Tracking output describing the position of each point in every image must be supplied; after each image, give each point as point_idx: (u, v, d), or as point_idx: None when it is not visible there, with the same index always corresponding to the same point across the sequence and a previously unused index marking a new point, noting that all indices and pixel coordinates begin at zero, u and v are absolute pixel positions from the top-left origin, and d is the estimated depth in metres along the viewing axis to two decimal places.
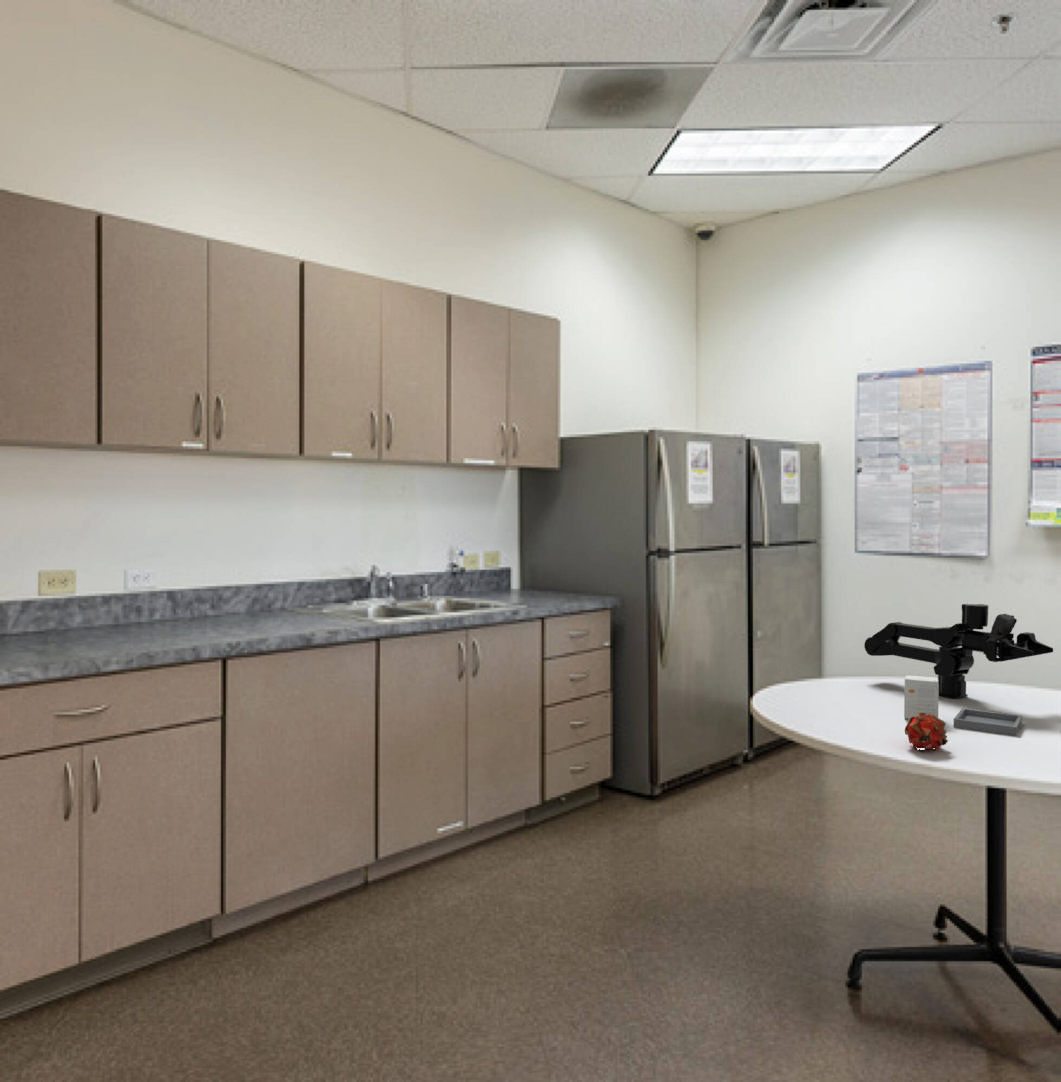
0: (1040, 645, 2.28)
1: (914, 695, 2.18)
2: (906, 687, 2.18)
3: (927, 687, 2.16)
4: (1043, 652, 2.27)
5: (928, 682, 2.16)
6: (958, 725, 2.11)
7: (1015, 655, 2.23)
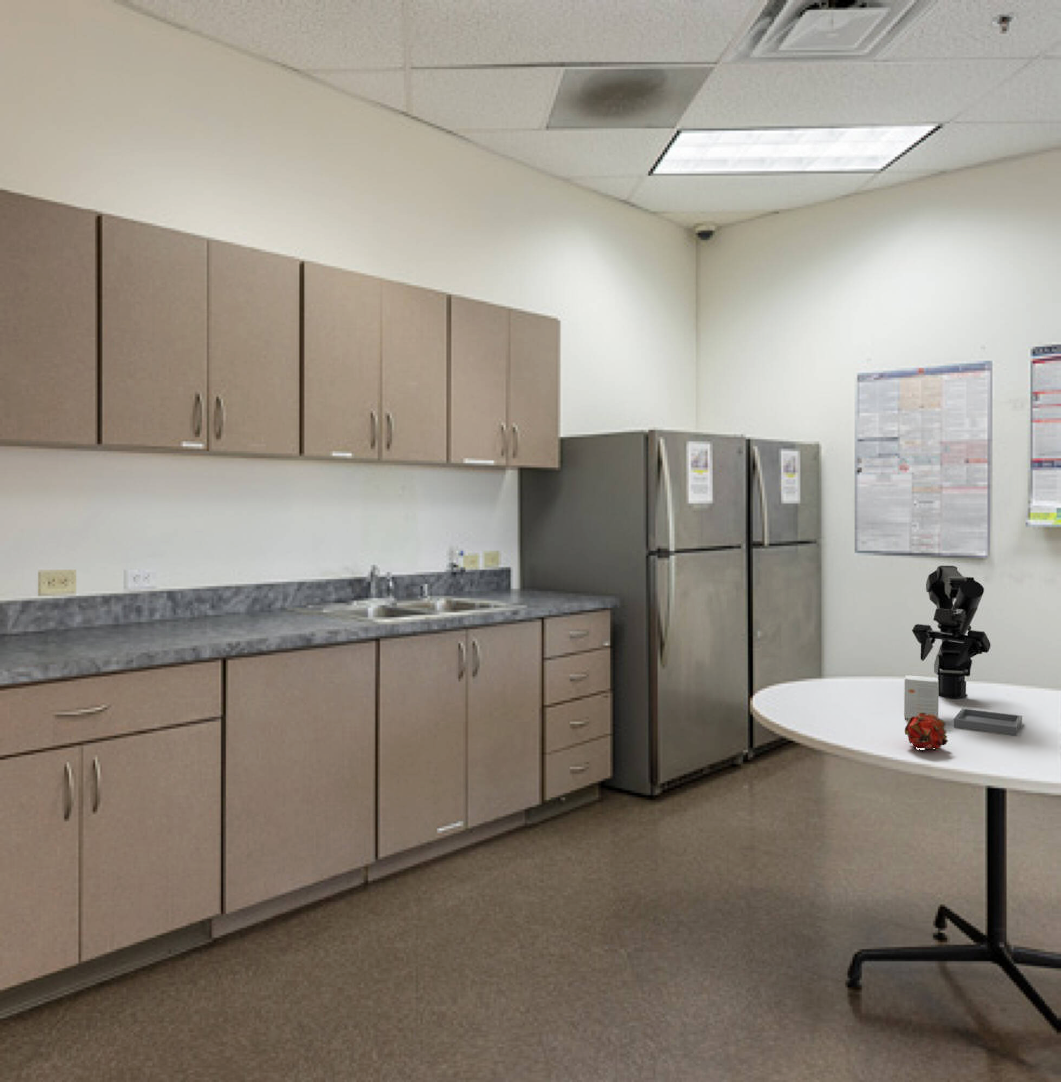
0: None
1: (914, 695, 2.18)
2: (906, 687, 2.18)
3: (927, 687, 2.16)
4: None
5: (928, 682, 2.16)
6: (958, 725, 2.11)
7: None
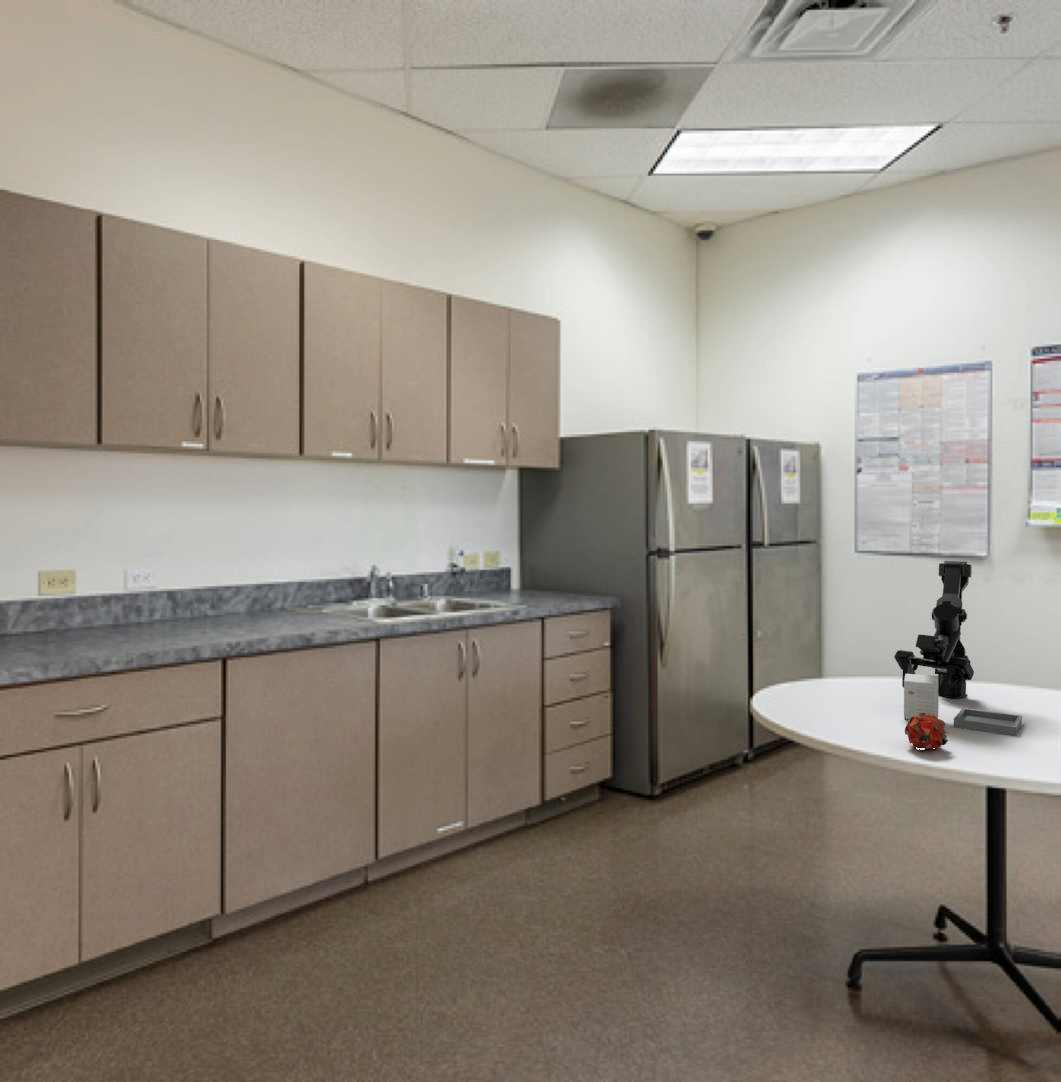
0: None
1: (913, 697, 2.17)
2: (905, 689, 2.17)
3: (927, 689, 2.15)
4: None
5: (928, 684, 2.14)
6: (958, 725, 2.11)
7: None
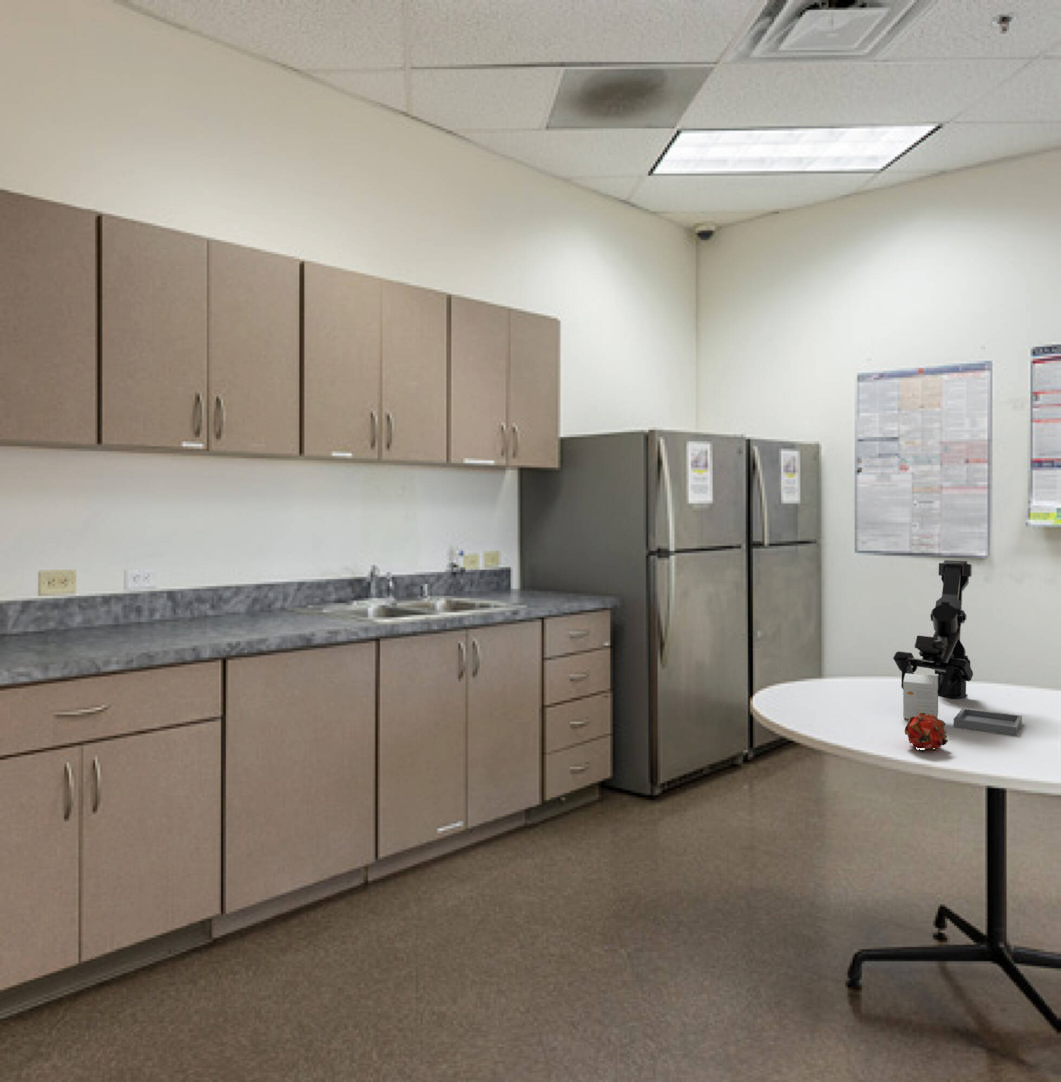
0: None
1: (912, 697, 2.16)
2: (905, 689, 2.17)
3: (926, 690, 2.14)
4: None
5: (927, 685, 2.14)
6: (958, 725, 2.11)
7: None
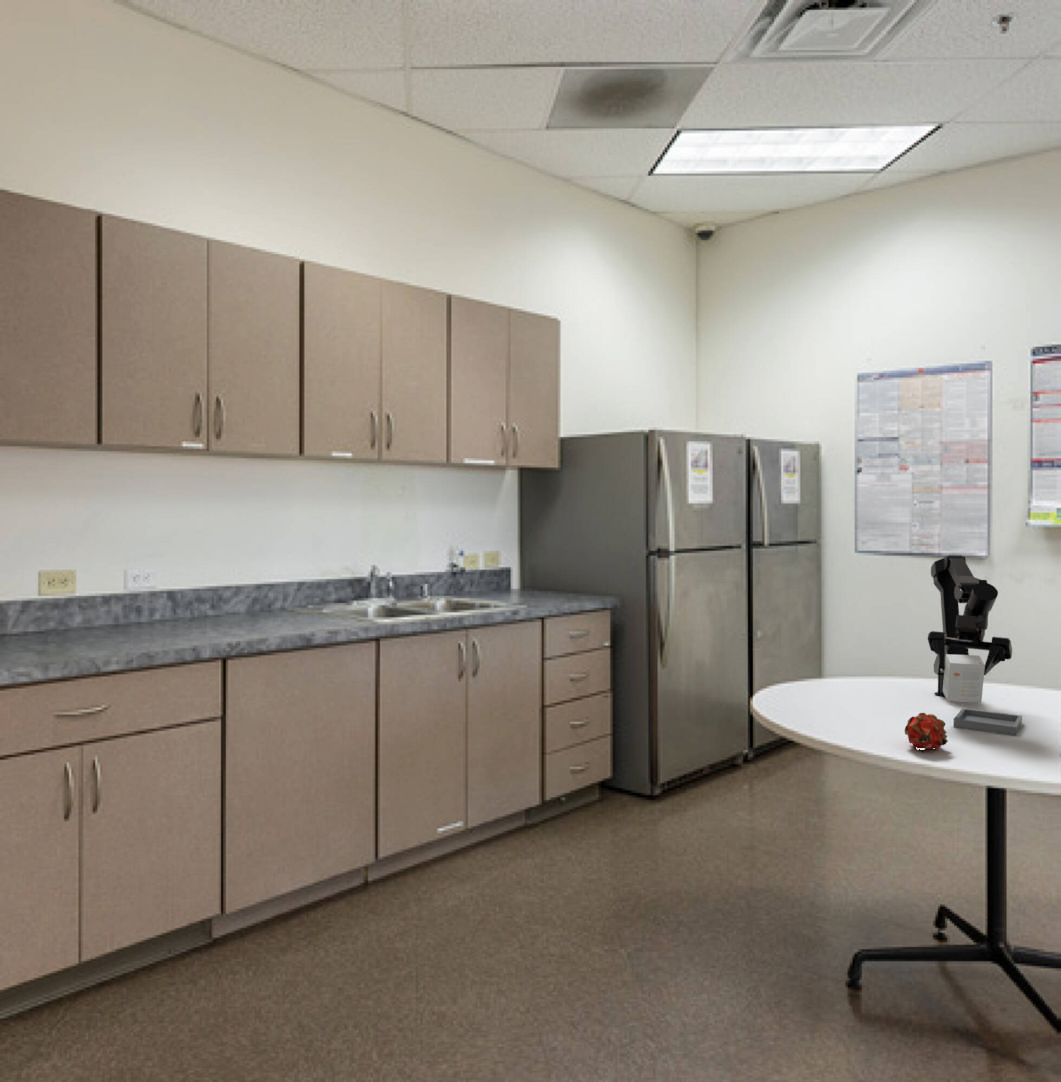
0: None
1: (958, 678, 2.11)
2: (951, 671, 2.11)
3: (973, 670, 2.10)
4: None
5: (974, 665, 2.09)
6: (958, 725, 2.11)
7: None
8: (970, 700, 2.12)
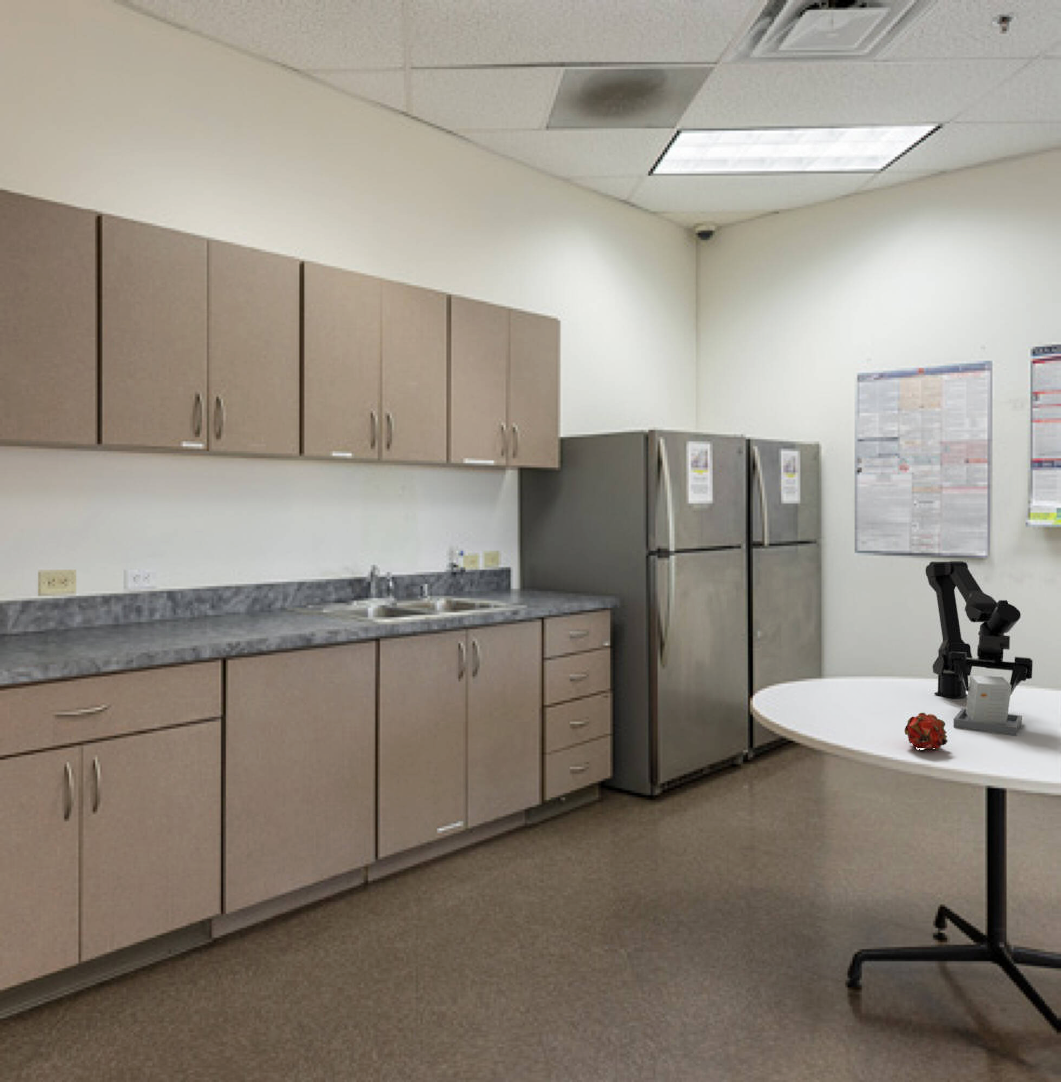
0: (1010, 682, 2.12)
1: (985, 699, 2.10)
2: (978, 691, 2.10)
3: (1000, 691, 2.09)
4: None
5: (1001, 686, 2.09)
6: (958, 725, 2.11)
7: (962, 679, 2.19)
8: (996, 721, 2.11)
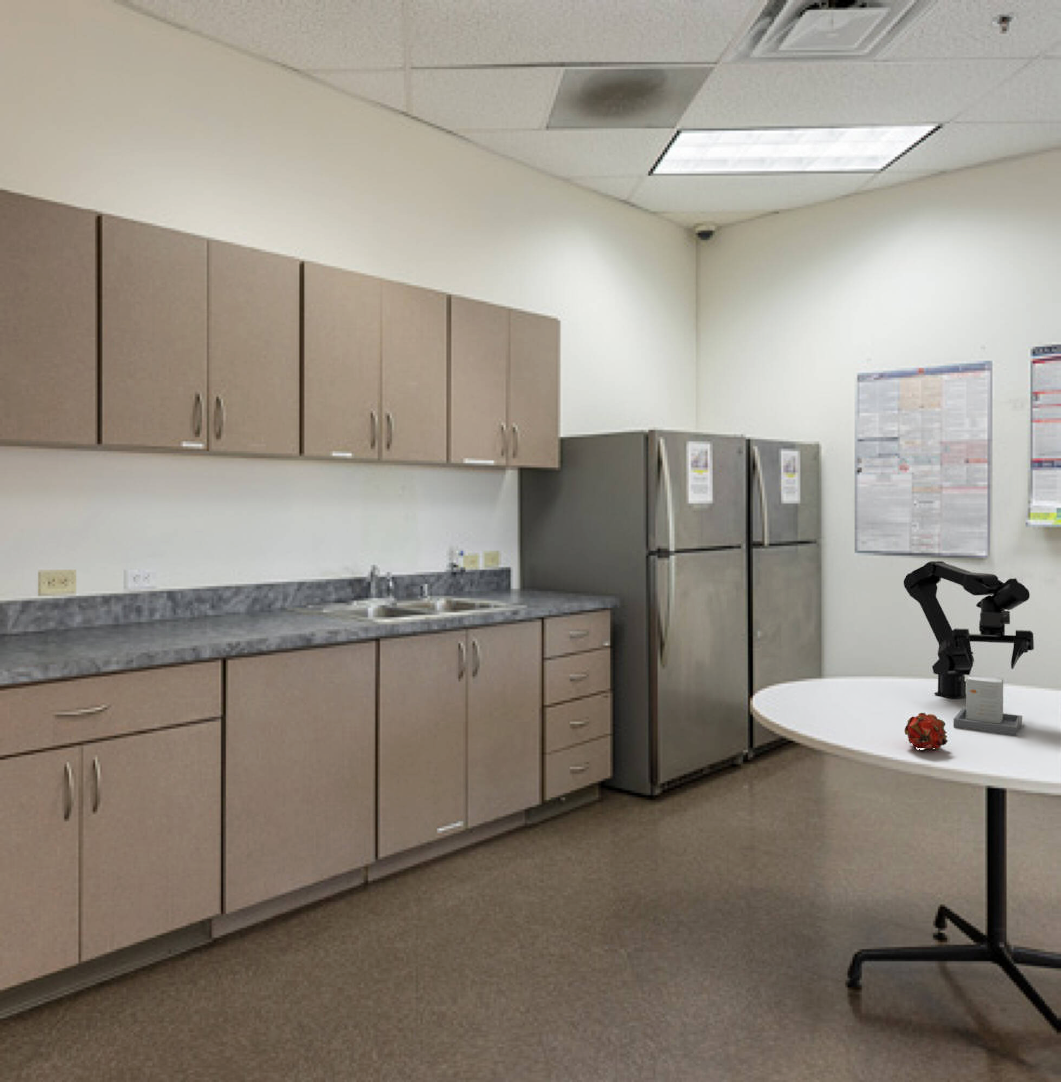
0: (1012, 655, 2.19)
1: (976, 696, 2.14)
2: (968, 687, 2.15)
3: (990, 688, 2.13)
4: None
5: (991, 683, 2.13)
6: (958, 725, 2.11)
7: (967, 655, 2.26)
8: (989, 720, 2.13)
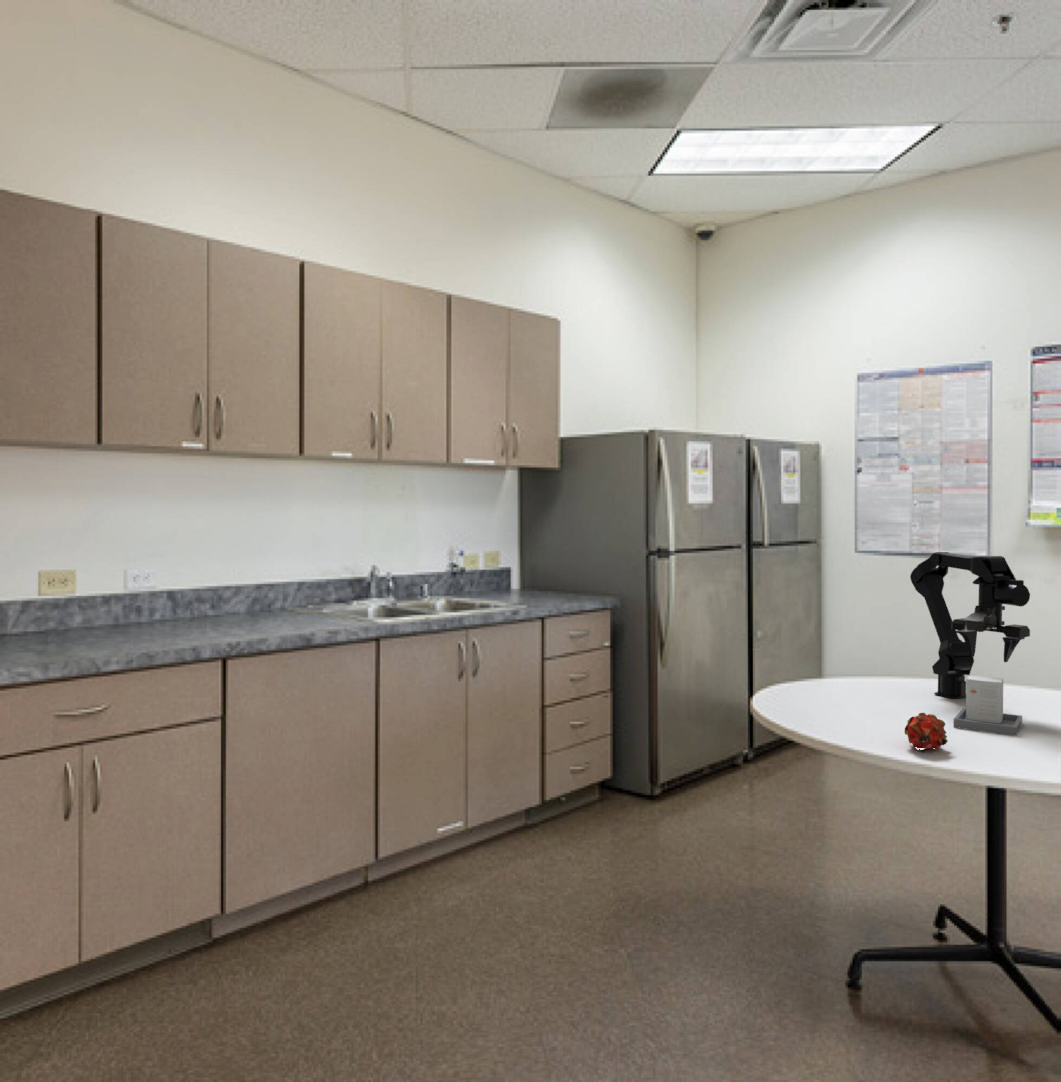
0: None
1: (976, 696, 2.14)
2: (968, 687, 2.15)
3: (990, 688, 2.13)
4: None
5: (991, 683, 2.13)
6: (958, 725, 2.11)
7: None
8: (989, 720, 2.13)
